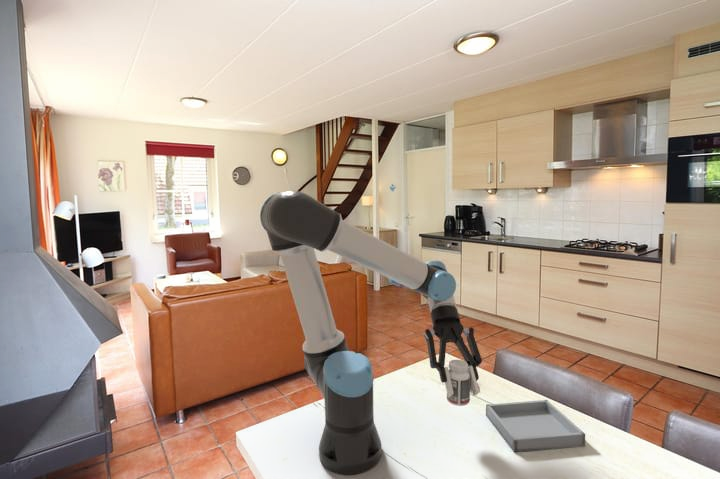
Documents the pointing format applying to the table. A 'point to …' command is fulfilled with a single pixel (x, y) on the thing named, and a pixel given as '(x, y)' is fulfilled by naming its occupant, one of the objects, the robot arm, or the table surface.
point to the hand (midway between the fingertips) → (463, 394)
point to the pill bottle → (459, 382)
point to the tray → (534, 426)
